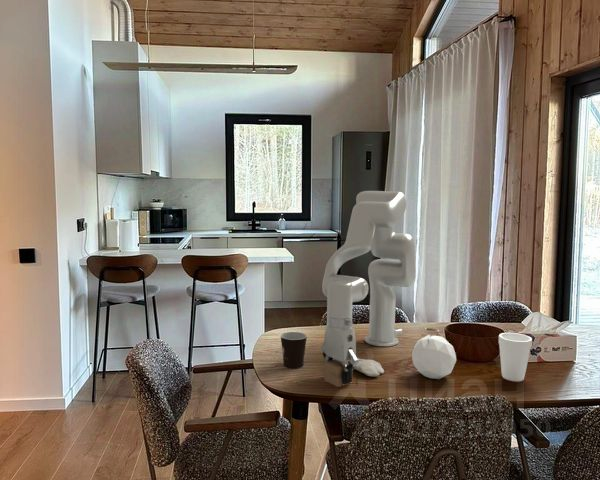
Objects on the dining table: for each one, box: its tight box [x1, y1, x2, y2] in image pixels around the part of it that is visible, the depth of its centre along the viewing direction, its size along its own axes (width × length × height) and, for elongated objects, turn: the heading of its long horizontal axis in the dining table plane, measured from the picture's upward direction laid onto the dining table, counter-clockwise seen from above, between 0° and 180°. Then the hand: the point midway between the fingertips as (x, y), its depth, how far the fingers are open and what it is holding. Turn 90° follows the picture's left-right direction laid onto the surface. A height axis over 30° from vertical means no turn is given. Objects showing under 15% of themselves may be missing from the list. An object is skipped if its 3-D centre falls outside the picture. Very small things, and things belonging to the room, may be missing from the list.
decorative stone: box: [353, 357, 385, 377], centre depth 161 cm, size 11×4×15 cm
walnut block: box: [323, 359, 354, 388], centre depth 151 cm, size 6×6×6 cm
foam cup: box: [497, 332, 533, 382], centre depth 155 cm, size 10×9×13 cm
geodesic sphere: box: [411, 333, 457, 380], centre depth 155 cm, size 14×14×14 cm
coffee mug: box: [280, 331, 308, 370], centre depth 166 cm, size 12×9×10 cm
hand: (338, 378), depth 151 cm, fingers open, 7 cm apart
